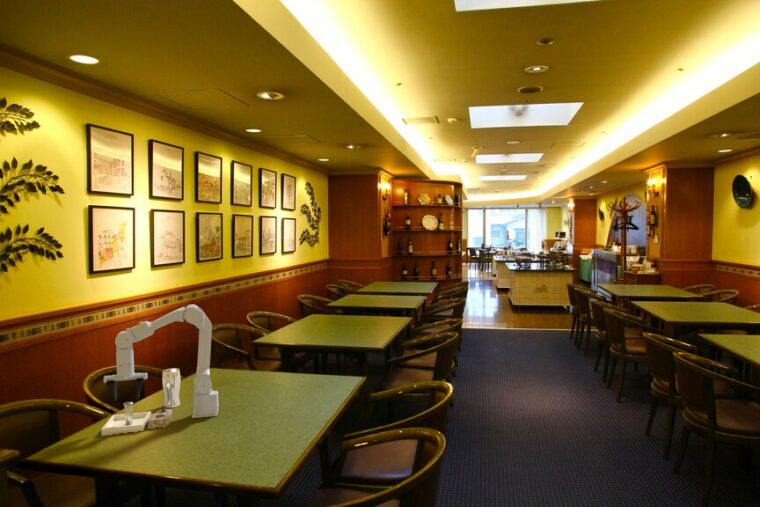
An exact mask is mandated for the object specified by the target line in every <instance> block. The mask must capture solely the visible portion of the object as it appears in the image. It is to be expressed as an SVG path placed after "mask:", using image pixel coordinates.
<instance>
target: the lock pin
mask: <svg viewBox="0 0 760 507" xmlns="http://www.w3.org/2000/svg"><path fill="white" fill-rule="evenodd" d="M133 405H134V402H133V401H125V402H124V403H123V407H124V414H125V425H132V424H133V419H132V413H133Z"/></svg>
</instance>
